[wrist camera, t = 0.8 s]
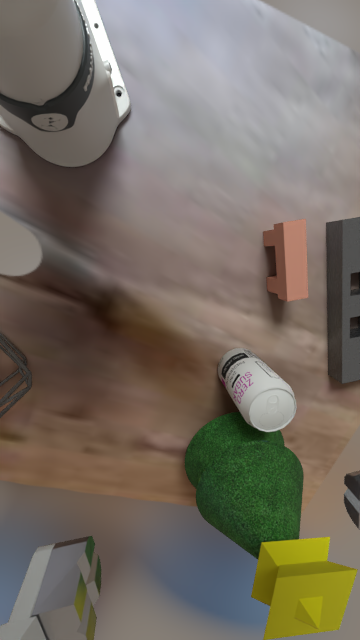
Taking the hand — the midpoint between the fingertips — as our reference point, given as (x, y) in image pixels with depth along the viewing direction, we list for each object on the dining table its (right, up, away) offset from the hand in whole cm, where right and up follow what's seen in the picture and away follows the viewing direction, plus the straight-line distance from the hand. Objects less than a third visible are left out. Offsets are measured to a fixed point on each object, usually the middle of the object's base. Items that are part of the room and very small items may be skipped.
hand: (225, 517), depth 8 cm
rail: (+31, +10, +43) cm, 54 cm away
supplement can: (+10, -3, +43) cm, 45 cm away
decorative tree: (+8, -18, +47) cm, 51 cm away
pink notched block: (+16, +17, +39) cm, 45 cm away
